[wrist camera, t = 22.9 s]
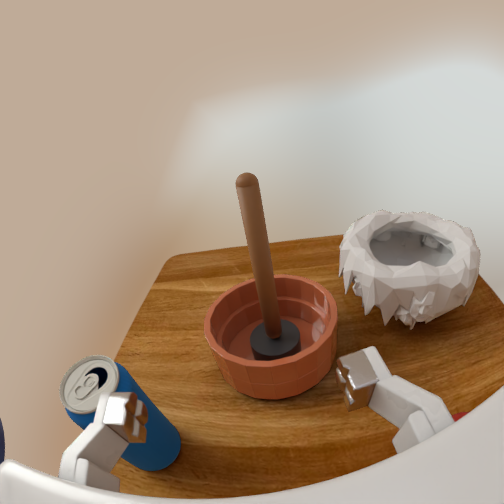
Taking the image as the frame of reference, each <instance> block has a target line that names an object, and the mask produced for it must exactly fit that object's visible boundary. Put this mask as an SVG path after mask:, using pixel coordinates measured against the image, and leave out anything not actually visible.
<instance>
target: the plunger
mask: <svg viewBox="0 0 504 504" xmlns="http://www.w3.org/2000/svg"><path fill="white" fill-rule="evenodd" d="M236 189H237V194H238V199H239V204H240V209H241V214H242V219H243V224H244V228H245V234H246V239H247V244H248V249H249V254H250V259H251V264H252V269H253V273H254V278H255V283H256V288H257V293H258V298H259V303H260V308H261V313H262V318H263V323H261V324H259V325H258V326H257V327H255V328H254V330H253V331H252V333H251V335H250V344H251V348H252V352H253V355H254V358H255V360H257V361H272V360H276V359H281V358H285V357H289V356H293V355H295V354H297V353H299V352H301V340H300V332H299V329H298V327H297V326H296V325H295V324H294V323H292V322H290V321H287V320H283V319H280V313H279V306H278V300H277V293H276V287H275V280H274V274H273V267H272V261H271V255H270V248H269V242H268V236H267V230H266V224H265V218H264V212H263V206H262V200H261V194H260V188H259V183H258V179H257V178H256V176H255V175H253V174H251V173H243V174H241V175H239V177H238V178H237V180H236Z"/></svg>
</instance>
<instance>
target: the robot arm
mask: <svg viewBox="0 0 504 504" xmlns="http://www.w3.org/2000/svg"><path fill="white" fill-rule="evenodd" d="M336 363H337V366H338V368H337V369H336V374H335V375H336V381H337V384H338V387H339V390H340V391H342V392H343V393H344V398H343V400H344V402H345V405H346V407H347V409H348V412H350V411H353V410H357V409H360V408H363V407H365V406H368V405H369V406H368V407H369V408H371V409H372V410H374V411H375V412H377V413H378V414H379V415H381V416H382V417H384V418H385V419H387V420H388V421H389V422H391V423H392V424H394V425H395V426H397V427H398V428H400V430H399V431H398V433H397V434H396V435H395V437H394V438H393V440H392V442H393V445H394V447H395V449H396V452H397V455H395V456H392V457H390V458H388V459H386V460H383V461H381V462H378V463H376V464H374V465H371V466H369V467H366V468H363V469H361V470H358V471H355V472H352V473H349V474H346V475H343V476H340V477H337V478H334V479H330V480H327V481H323V482H320V483H316V484H312V485H308V486H304V487H299V488H295V489H290V490H285V491H279V492H274V493H267V494H261V495H253V496H244V497H233V498H217V499H174V498H158V497H148V496H139V495H132V494H125V493H119V487H120V479H119V478H118V477H116V476H114V475H113V474H111V473H110V472H111V470H112V469H113V467H114V466H115V464H116V463H117V461H118V460H119V458H120V457H121V455H122V454H123V452H124V451H125V449H126V448H127V446H128V445H129V443H146V433H147V430H146V428H145V426H144V425H145V424H146V423H147V421H148V411H147V408H146V406H145V404H144V403H143V402H142V401H140V400H138V399H137V397H138V396H137V395H136V394H135V393H134V392H102V393H101V395H100V397H99V401H98V405H97V409H96V413H95V417H94V422H93V423H90V424H89V425H88V426H87V428H86V429H85V430H84V431H83V432H82V433H81V434H80V435H79V436H78V437H77V438H76V440H75V441H74V442H73V443H72V444H71V445H70V446H69V447H68V448H67V449H66V450H65V451H64V453H63V455H62V460H61V465H60V470H59V476H58V477H55V476H52V475H50V474H47V473H44V472H41V471H39V470H36V469H34V468H31V467H29V466H26V465H24V464H21V463H19V462H17V461H15V460H12V459H7V460H5V461H4V462H2V463H1V464H0V504H504V385H503V386H502V387H501V388H500V389H499V390H498V391H496V392H495V393H494V394H493V395H492V396H490V397H489V398H488V399H487V400H485V401H484V402H483V403H481V404H480V405H479V406H477V407H476V408H475V409H473V410H472V411H471V412H469V413H468V414H466V415H465V416H463V417H462V418H461V419H459V420H458V421H456V422H455V421H454V420H453V418H452V416H451V414H450V413H449V411H448V409H447V407H446V406H445V404H444V402H443V401H442V399H441V397H439V396H437V395H434V394H432V393H430V392H428V391H426V390H424V389H422V388H420V387H418V386H416V385H414V384H412V383H410V382H408V381H406V380H405V379H403V378H401V377H399V376H397V375H394V376H392V375H391V373H390V371H389V369H388V368H387V366H386V364H385V363H384V361H383V359H382V358H381V356H380V354H379V352H378V351H377V349H376V348H375V347H374V346H371V347H368V348H365V349H362V350H358V351H355V352H353V353H350V354H347V355H344V356H340V357H338V358H337V362H336Z"/></svg>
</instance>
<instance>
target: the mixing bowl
mask: <svg viewBox="0 0 504 504" xmlns="http://www.w3.org/2000/svg"><path fill="white" fill-rule="evenodd" d="M274 280H275V287H276V293H277V300H278V306H279V313H280V319H283V320H287V321H290V322H292V323H294V324H295V325H296V326H297V327H298V329H299V332H300V340H301V352H299V353H297V354H295V355H293V356H289V357H285V358H281V359H276V360H272V361H257V360H255V358H254V355H253V352H252V348H251V344H250V335H251V333H252V331H253V330H254V328H255V327H257V326H258V325H259V324H261V323H263V318H262V313H261V308H260V303H259V298H258V293H257V288H256V283H255V278H252V279H249V280H247V281H245V282H242V283H240V284H237V285H235V286H233V287H232V288H230V289H229V290H227V291H226V292H224V293H223V294H221V295H220V296H219V297H218V298H217V299H216V301H215V302H214V303H213V304H212V305H211V306H210V308H209V310H208V312H207V314H206V316H205V319H204V335H205V337H206V339H207V342H208V344H209V347H210V349H211V351H212V354H213V356H214V358H215V361H216V363H217V365H218V367H219V369H220V371H221V373H222V375H223V377H224V379H225V381H226V382H228V383H229V384H230V385H231V386H232V387H233V388H235V389H236V390H237V391H238V392H241V393H243V394H246V395H249V396H251V397H254V398H259V399H282V398H286V397H291V396H295V395H299V394H301V393H302V392H304V391H306V390H308V389H310V388H311V387H313V386H315V385H316V384H318V383H319V382H320V380H321V379H322V378H323V377H324V376H325V375H326V374H327V373H328V372H329V370H330V368H331V366H332V363H333V361H334V358H335V355H336V343H337V324H338V315H337V304H336V302H335V300H334V299H333V297H332V295H331V293H330V292H329V291H328V290H327V289H325V288H324V287H323V286H321V285H320V284H319V283H317V282H315V281H312V280H310V279H307V278H305V277H300V276H294V275H286V274H282V275H274Z"/></svg>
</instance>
